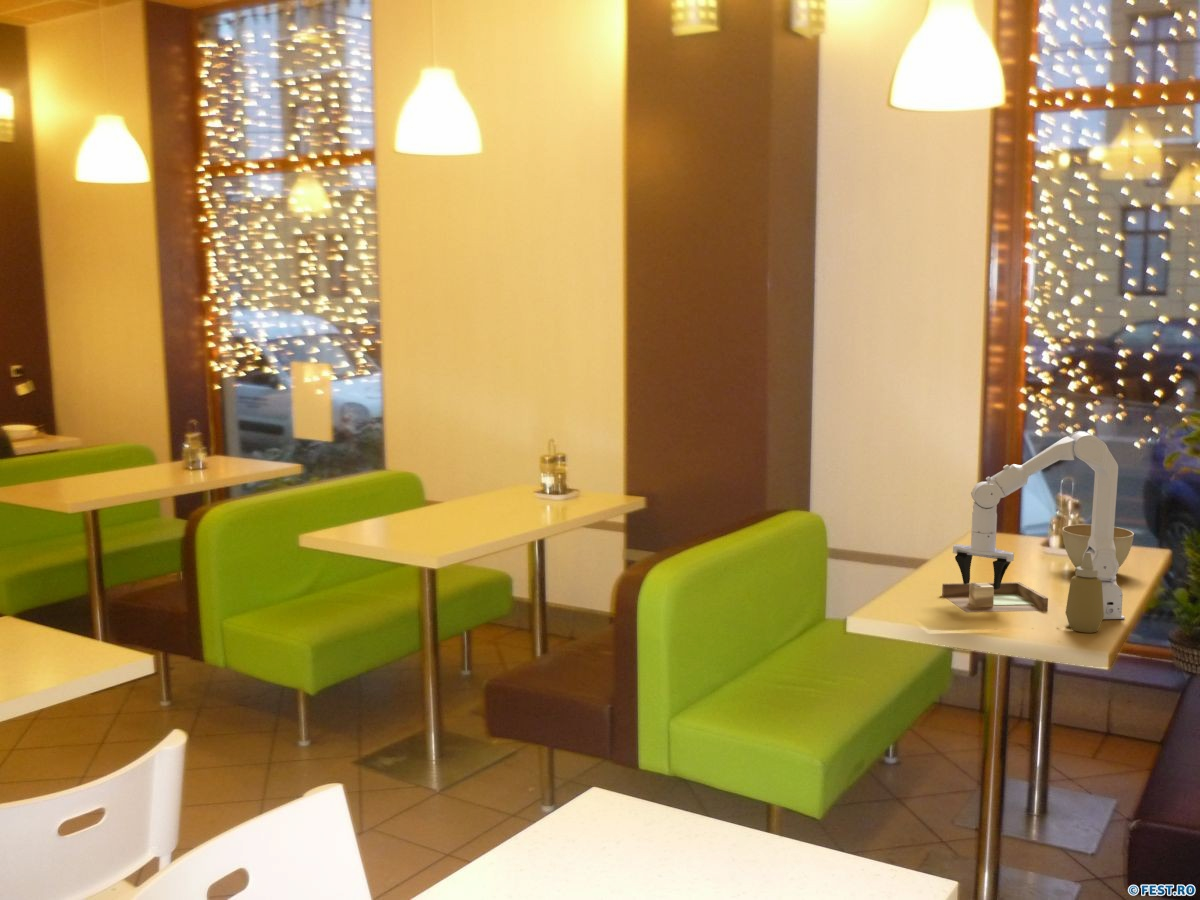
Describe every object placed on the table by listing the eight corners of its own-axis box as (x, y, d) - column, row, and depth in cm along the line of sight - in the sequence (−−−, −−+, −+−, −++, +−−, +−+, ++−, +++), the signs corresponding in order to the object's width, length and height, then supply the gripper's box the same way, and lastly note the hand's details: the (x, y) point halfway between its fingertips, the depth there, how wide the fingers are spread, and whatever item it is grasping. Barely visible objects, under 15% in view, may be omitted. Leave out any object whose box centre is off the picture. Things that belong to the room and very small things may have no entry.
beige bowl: (1046, 569, 318) (1048, 527, 317) (1096, 564, 324) (1099, 522, 323) (1094, 583, 301) (1096, 539, 300) (1146, 578, 307) (1149, 534, 306)
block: (993, 606, 275) (994, 586, 275) (975, 607, 275) (975, 586, 274) (986, 602, 279) (987, 582, 279) (968, 603, 279) (969, 582, 278)
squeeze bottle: (1064, 623, 264) (1068, 547, 261) (1102, 627, 261) (1106, 550, 258) (1064, 632, 256) (1068, 554, 254) (1103, 636, 253) (1107, 557, 251)
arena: (1047, 613, 272) (1048, 598, 272) (966, 615, 271) (966, 599, 270) (1018, 596, 288) (1019, 582, 288) (942, 598, 287) (942, 583, 286)
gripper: (1019, 532, 273) (1017, 587, 275) (962, 525, 283) (959, 578, 284) (1008, 537, 268) (1005, 593, 270) (950, 529, 277) (947, 583, 279)
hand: (981, 585), depth 277 cm, fingers open, 7 cm apart
